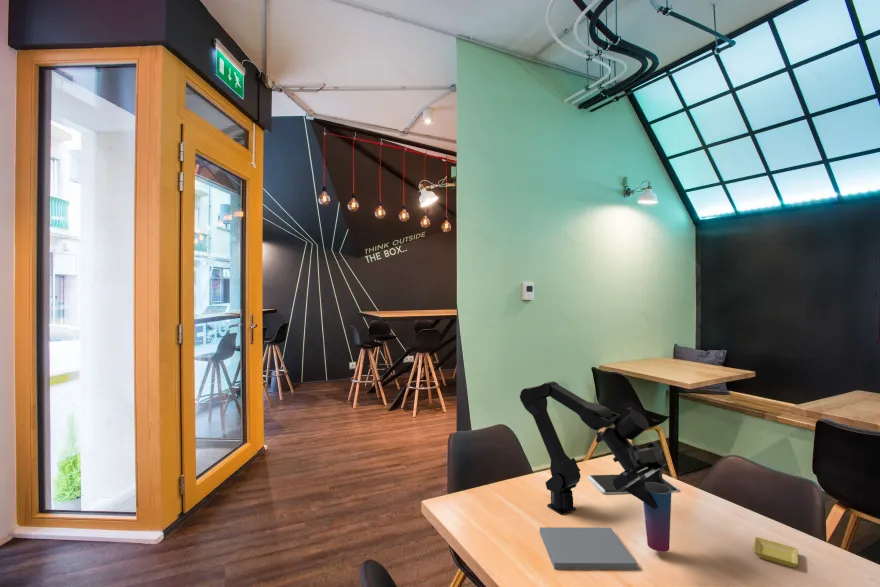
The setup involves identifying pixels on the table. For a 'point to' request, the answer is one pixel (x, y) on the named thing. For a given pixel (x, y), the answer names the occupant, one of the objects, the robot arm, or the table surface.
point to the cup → (658, 517)
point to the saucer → (776, 552)
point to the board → (585, 548)
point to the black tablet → (606, 487)
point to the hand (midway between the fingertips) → (662, 504)
